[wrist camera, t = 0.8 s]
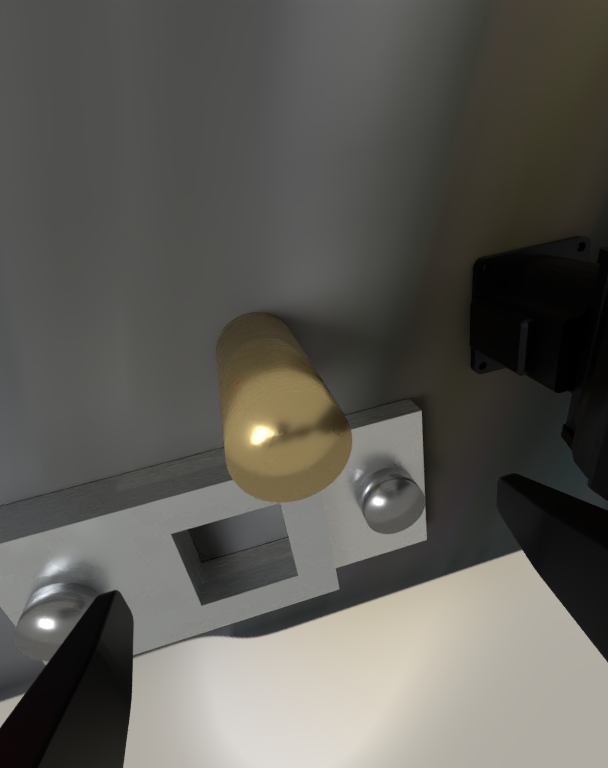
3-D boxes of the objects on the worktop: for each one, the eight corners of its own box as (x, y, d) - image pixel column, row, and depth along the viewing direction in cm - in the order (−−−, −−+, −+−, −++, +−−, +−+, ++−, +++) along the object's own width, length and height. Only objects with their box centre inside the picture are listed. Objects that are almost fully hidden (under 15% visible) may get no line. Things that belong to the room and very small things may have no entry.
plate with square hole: (409, 398, 24) (450, 439, 20) (416, 523, 28) (451, 577, 24) (-10, 509, 21) (-59, 582, 17) (71, 628, 26) (47, 709, 22)
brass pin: (287, 304, 20) (344, 378, 12) (301, 377, 22) (358, 483, 14) (206, 322, 20) (209, 412, 12) (227, 395, 21) (242, 516, 13)
